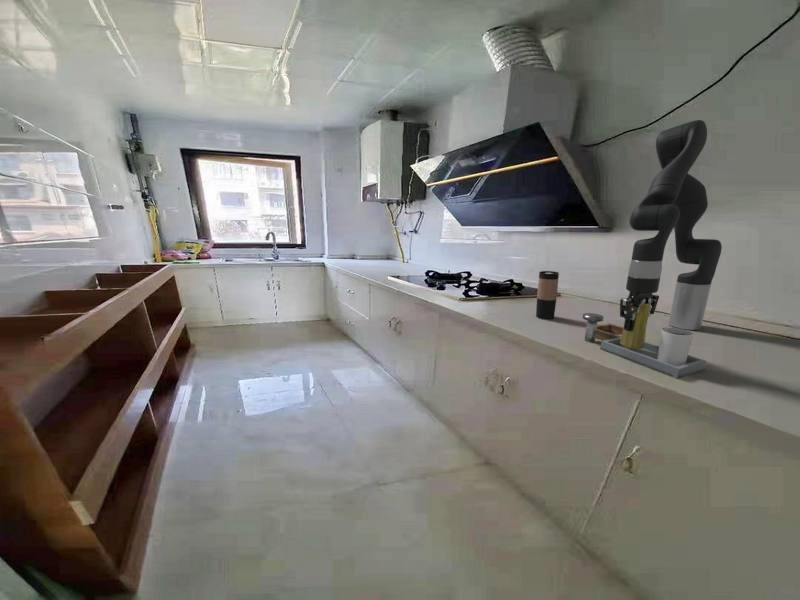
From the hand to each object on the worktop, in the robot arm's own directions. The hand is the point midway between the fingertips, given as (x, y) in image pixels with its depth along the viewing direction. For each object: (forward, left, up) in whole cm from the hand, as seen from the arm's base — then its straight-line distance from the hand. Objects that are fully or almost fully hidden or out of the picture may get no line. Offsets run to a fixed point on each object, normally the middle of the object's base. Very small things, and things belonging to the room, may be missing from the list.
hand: (634, 328), depth 92 cm
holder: (-7, -11, -8) cm, 15 cm away
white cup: (0, +11, -7) cm, 13 cm away
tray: (0, +5, -8) cm, 9 cm away
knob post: (+3, -12, -8) cm, 15 cm away
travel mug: (-4, -39, -8) cm, 40 cm away
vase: (0, 0, -6) cm, 6 cm away
